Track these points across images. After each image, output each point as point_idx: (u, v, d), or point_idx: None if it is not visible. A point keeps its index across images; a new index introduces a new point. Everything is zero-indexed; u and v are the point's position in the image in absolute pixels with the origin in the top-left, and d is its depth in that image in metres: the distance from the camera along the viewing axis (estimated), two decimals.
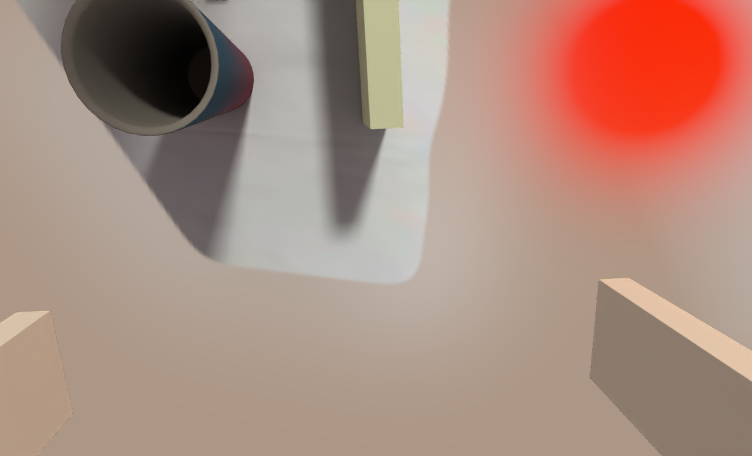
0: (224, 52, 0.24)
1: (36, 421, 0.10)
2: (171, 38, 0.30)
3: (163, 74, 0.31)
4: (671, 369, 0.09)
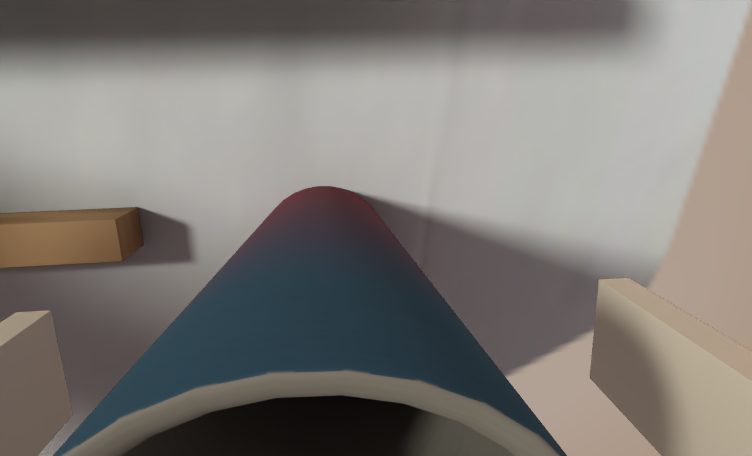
0: (277, 294, 0.06)
1: (36, 421, 0.10)
2: None
3: None
4: (671, 370, 0.09)
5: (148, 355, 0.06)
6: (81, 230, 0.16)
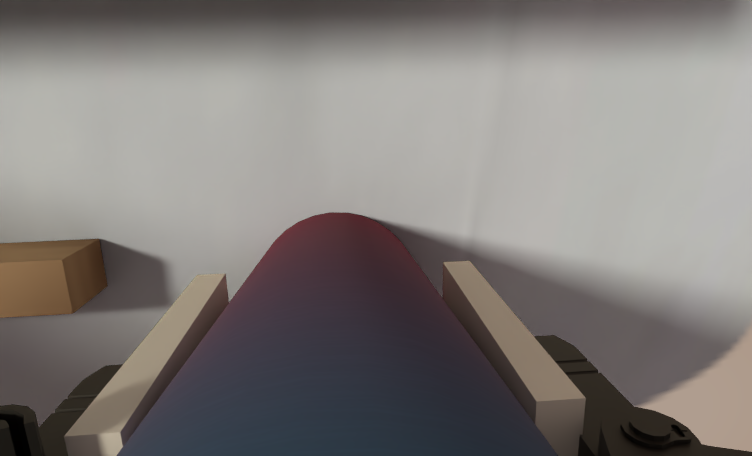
0: None
1: None
2: None
3: None
4: None
5: None
6: (18, 274, 0.12)
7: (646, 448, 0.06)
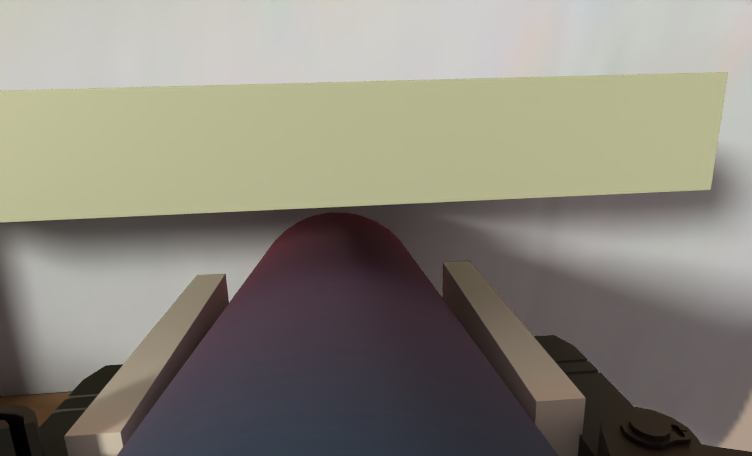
0: None
1: None
2: None
3: None
4: None
5: None
6: None
7: (646, 448, 0.06)
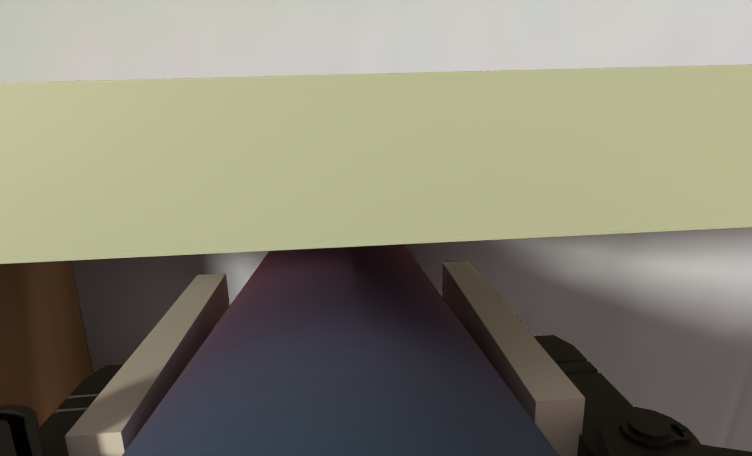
0: None
1: None
2: None
3: None
4: None
5: None
6: None
7: (645, 448, 0.06)
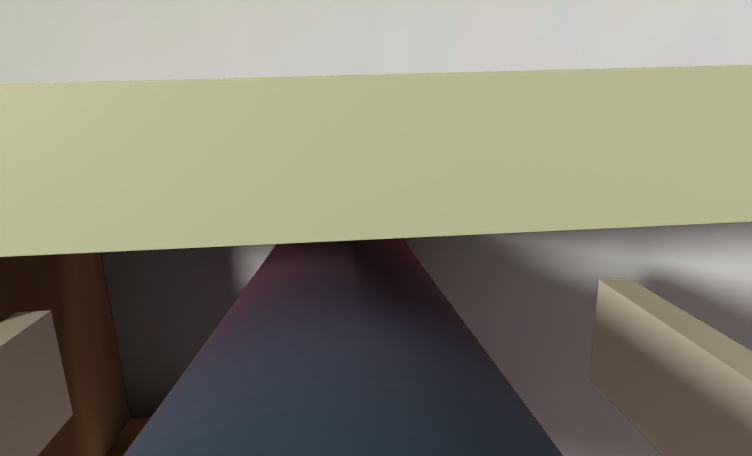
0: None
1: (36, 421, 0.10)
2: None
3: None
4: (671, 369, 0.09)
5: None
6: None
7: None
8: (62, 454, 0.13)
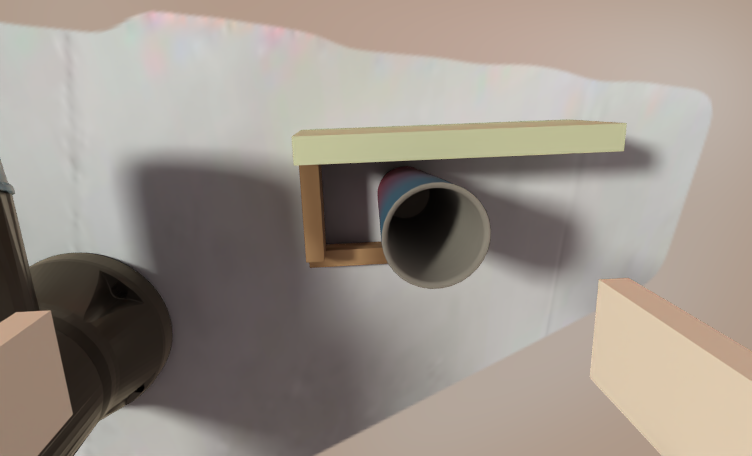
0: (423, 179, 0.31)
1: (36, 421, 0.10)
2: (388, 224, 0.39)
3: (413, 233, 0.40)
4: (671, 369, 0.09)
5: (400, 191, 0.30)
6: None
7: None
8: None
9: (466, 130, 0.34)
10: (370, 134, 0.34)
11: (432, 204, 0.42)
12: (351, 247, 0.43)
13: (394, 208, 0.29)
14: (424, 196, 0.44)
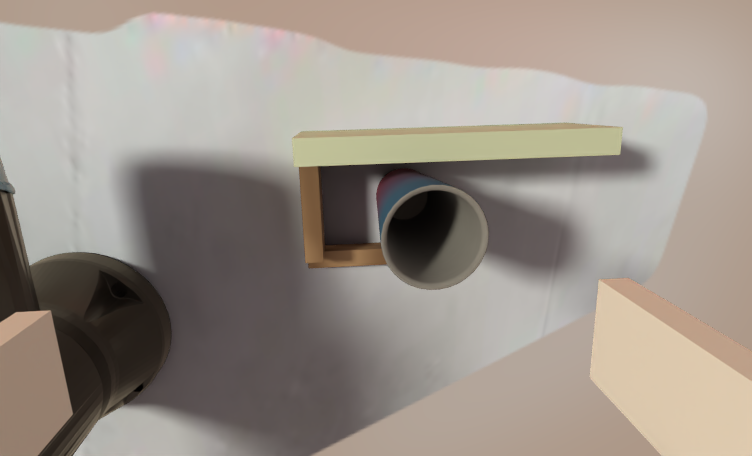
0: (422, 182, 0.31)
1: (36, 421, 0.10)
2: None
3: (411, 234, 0.40)
4: (671, 370, 0.09)
5: (399, 193, 0.31)
6: None
7: None
8: None
9: (465, 133, 0.34)
10: (370, 136, 0.34)
11: (430, 206, 0.43)
12: (350, 248, 0.44)
13: (393, 210, 0.29)
14: (423, 198, 0.44)
